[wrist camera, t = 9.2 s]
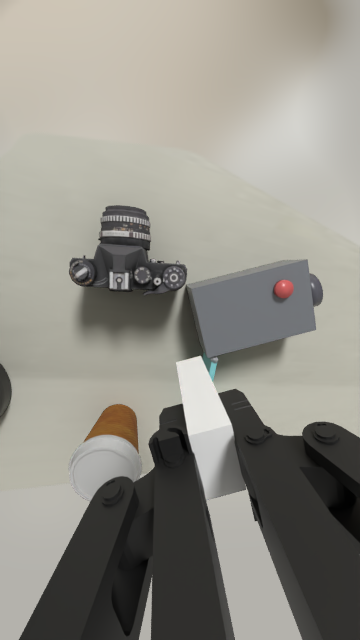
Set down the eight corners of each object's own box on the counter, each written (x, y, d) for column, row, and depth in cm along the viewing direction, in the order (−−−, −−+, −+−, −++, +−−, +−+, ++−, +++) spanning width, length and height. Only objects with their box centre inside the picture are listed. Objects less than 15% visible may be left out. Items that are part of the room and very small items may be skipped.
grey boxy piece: (200, 344, 42) (209, 362, 35) (186, 284, 40) (192, 289, 32) (305, 317, 43) (337, 328, 35) (297, 256, 40) (329, 254, 33)
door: (199, 343, 42) (206, 355, 36) (210, 344, 42) (218, 357, 36) (186, 410, 44) (190, 432, 38) (196, 411, 44) (202, 433, 39)
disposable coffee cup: (155, 430, 45) (153, 488, 33) (106, 452, 45) (88, 517, 34) (130, 386, 43) (120, 431, 31) (80, 409, 43) (50, 462, 31)
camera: (183, 218, 38) (191, 201, 28) (180, 290, 40) (187, 298, 31) (86, 212, 37) (59, 193, 27) (89, 287, 39) (65, 294, 29)
